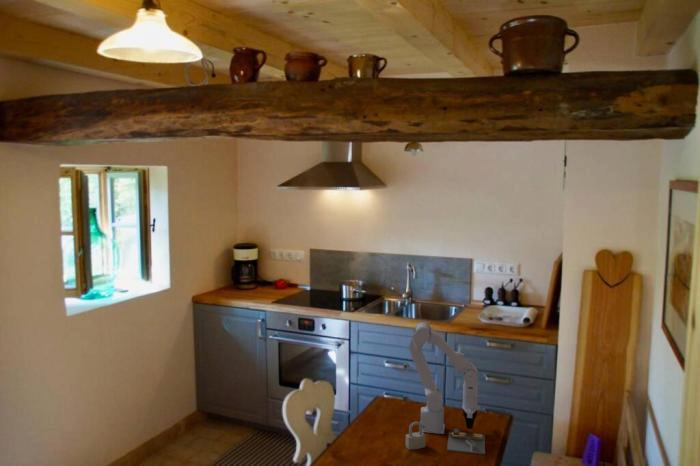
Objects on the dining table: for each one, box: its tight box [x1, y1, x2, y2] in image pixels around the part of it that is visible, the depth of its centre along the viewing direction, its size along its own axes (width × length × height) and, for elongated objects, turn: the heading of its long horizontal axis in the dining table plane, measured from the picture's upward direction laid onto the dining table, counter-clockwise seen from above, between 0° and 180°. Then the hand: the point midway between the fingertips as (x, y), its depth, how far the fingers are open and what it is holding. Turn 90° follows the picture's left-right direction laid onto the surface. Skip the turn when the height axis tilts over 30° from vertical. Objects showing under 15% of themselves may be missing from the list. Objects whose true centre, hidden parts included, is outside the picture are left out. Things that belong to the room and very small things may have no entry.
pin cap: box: [453, 428, 460, 434], centre depth 225 cm, size 2×2×1 cm
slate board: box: [446, 431, 486, 455], centre depth 221 cm, size 14×16×1 cm
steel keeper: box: [466, 439, 476, 450], centre depth 216 cm, size 4×2×2 cm, turn 22°
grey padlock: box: [405, 421, 426, 451], centre depth 218 cm, size 7×4×10 cm, turn 109°
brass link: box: [451, 431, 483, 440], centre depth 225 cm, size 12×4×1 cm, turn 77°
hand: (469, 428), depth 231 cm, fingers closed
